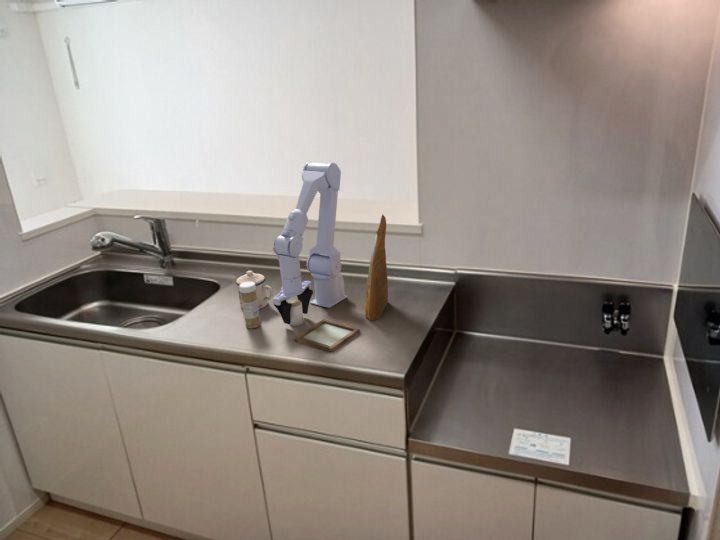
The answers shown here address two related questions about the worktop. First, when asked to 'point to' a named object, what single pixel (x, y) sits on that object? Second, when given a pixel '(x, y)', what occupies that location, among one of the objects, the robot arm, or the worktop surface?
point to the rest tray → (327, 335)
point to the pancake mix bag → (377, 276)
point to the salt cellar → (296, 312)
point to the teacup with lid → (260, 288)
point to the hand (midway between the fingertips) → (295, 317)
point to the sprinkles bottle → (250, 304)
